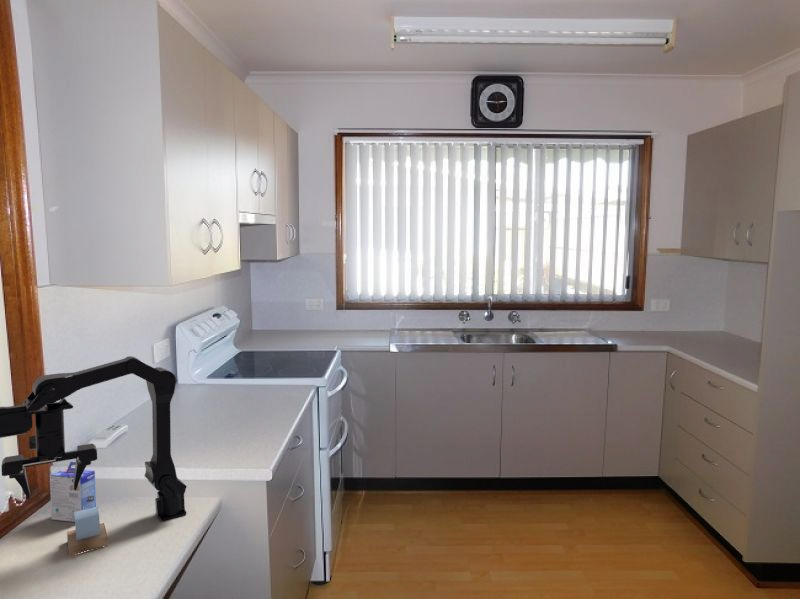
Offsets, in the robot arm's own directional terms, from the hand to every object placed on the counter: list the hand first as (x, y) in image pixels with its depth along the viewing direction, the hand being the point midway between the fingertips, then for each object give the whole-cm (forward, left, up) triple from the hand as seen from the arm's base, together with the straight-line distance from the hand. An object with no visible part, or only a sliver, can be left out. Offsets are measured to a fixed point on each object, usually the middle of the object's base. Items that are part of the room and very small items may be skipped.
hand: (52, 494), depth 129 cm
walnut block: (-6, +2, -14) cm, 15 cm away
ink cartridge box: (-5, -16, -14) cm, 22 cm away
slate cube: (-7, +1, -11) cm, 13 cm away
